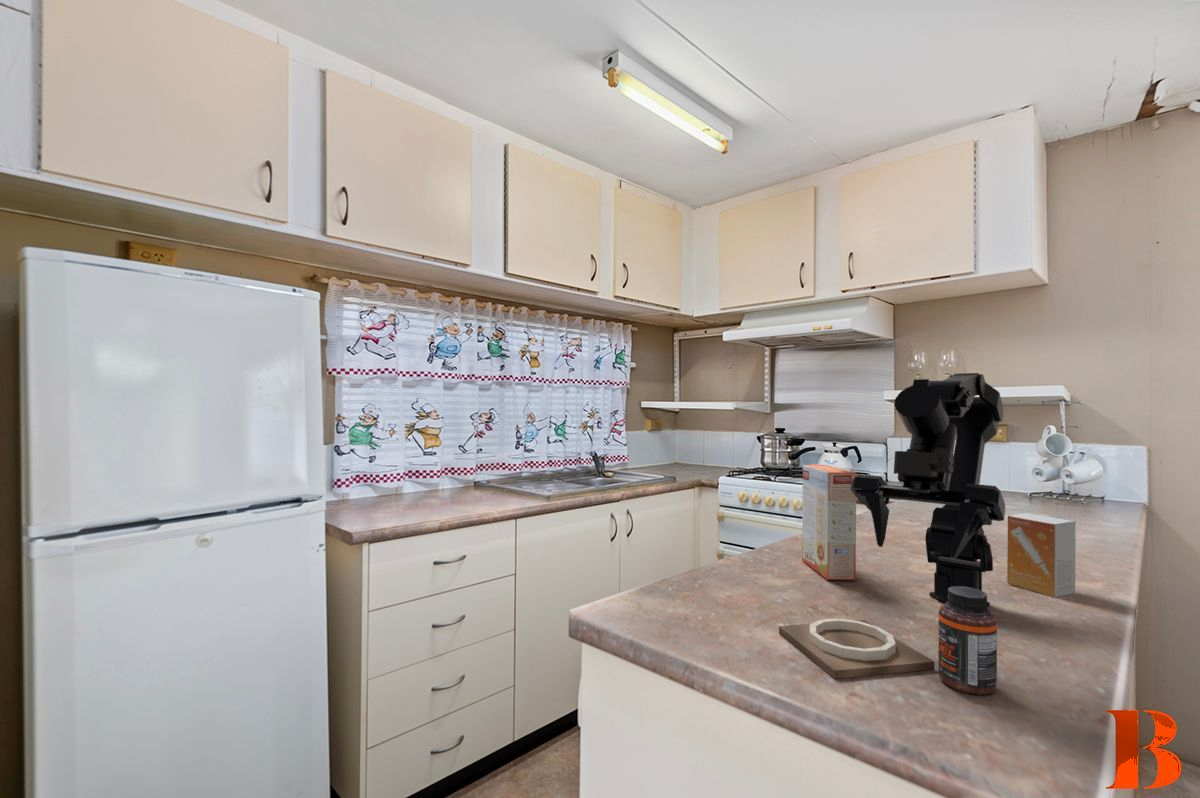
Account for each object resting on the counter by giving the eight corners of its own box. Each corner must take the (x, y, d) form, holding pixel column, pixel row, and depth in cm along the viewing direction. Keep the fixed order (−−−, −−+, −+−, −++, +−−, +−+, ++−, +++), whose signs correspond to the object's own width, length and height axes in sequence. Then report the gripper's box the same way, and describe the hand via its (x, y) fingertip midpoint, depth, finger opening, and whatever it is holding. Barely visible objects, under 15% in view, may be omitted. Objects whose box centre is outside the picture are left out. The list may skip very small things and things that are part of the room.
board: (864, 626, 86) (864, 619, 86) (934, 669, 72) (934, 661, 72) (778, 632, 83) (778, 626, 83) (834, 678, 69) (834, 670, 69)
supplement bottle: (927, 673, 71) (927, 583, 71) (971, 671, 71) (971, 582, 71) (961, 698, 65) (961, 600, 65) (1009, 696, 65) (1009, 598, 65)
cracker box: (858, 581, 107) (858, 471, 107) (826, 581, 107) (826, 471, 107) (829, 560, 121) (829, 463, 121) (801, 560, 121) (801, 463, 121)
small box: (1006, 584, 106) (1006, 515, 106) (1027, 580, 108) (1027, 512, 108) (1055, 598, 98) (1055, 523, 98) (1076, 593, 101) (1076, 520, 101)
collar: (861, 624, 84) (861, 616, 84) (912, 656, 73) (912, 647, 73) (795, 629, 82) (795, 621, 82) (839, 663, 71) (838, 653, 71)
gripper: (849, 424, 86) (827, 518, 80) (997, 427, 73) (985, 541, 67) (871, 458, 93) (852, 548, 87) (1009, 467, 80) (999, 573, 74)
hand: (914, 551), depth 78 cm, fingers open, 9 cm apart
